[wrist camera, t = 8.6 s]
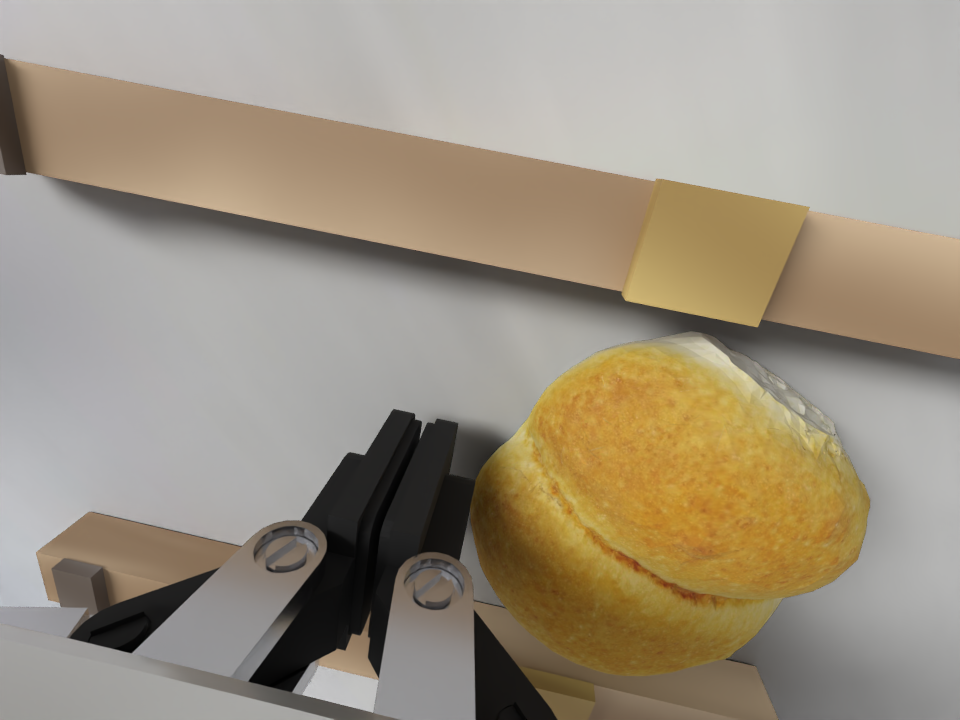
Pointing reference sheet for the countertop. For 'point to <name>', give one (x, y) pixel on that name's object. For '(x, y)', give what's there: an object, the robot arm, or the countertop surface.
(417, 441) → the robot arm
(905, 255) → the slot rails
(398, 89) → the countertop surface
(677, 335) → the bread roll
